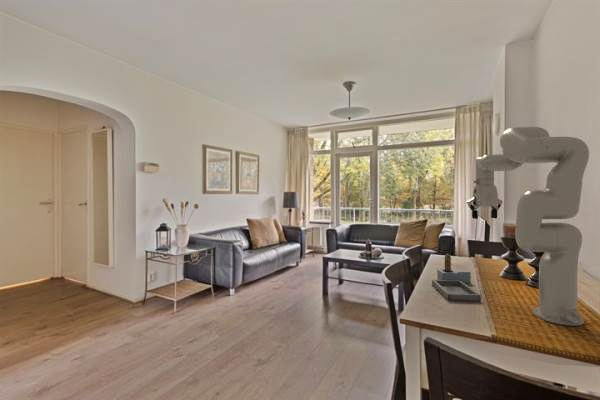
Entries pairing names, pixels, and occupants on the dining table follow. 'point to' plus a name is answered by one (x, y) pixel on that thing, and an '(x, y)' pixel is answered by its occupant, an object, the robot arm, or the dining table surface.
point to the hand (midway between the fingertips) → (484, 218)
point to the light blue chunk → (454, 275)
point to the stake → (447, 263)
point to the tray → (456, 290)
